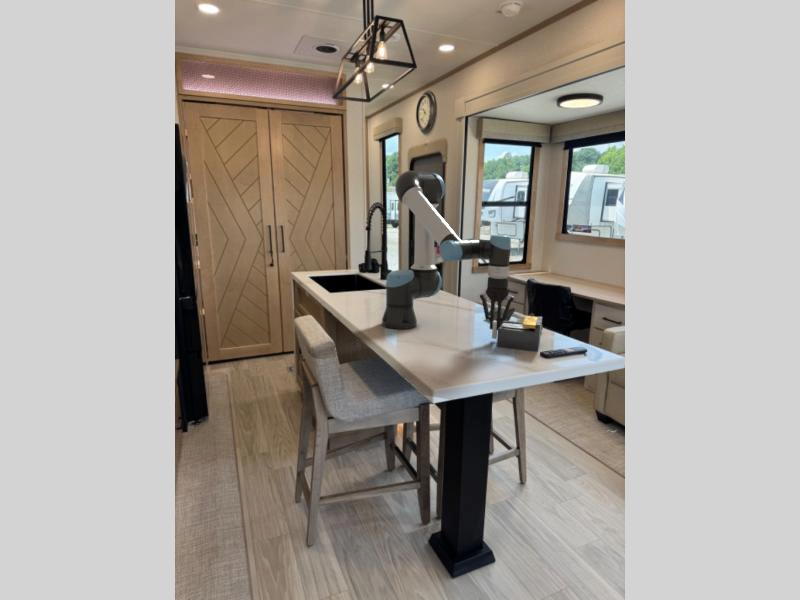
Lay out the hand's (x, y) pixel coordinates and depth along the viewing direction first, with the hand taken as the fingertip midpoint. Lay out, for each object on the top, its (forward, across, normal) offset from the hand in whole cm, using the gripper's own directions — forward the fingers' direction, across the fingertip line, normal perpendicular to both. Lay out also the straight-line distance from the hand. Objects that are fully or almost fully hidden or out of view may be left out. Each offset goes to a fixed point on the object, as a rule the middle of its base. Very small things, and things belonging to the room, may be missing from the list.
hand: (494, 337), depth 169 cm
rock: (+2, -3, +33) cm, 33 cm away
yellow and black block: (+2, +11, +21) cm, 24 cm away
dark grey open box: (+2, +9, 0) cm, 9 cm away
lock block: (+2, +8, 0) cm, 8 cm away
